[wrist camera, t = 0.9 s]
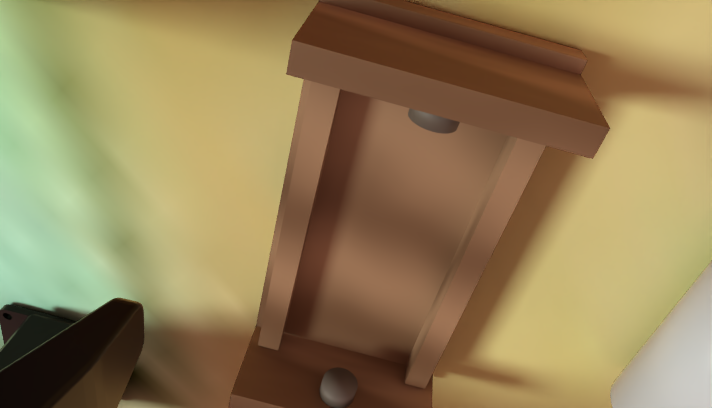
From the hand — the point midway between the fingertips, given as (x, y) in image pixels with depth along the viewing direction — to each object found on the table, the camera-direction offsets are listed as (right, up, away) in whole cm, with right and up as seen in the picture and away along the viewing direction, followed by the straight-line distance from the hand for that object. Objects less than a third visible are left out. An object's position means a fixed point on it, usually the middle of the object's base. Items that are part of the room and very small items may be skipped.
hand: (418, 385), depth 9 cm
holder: (0, +2, +15) cm, 16 cm away
